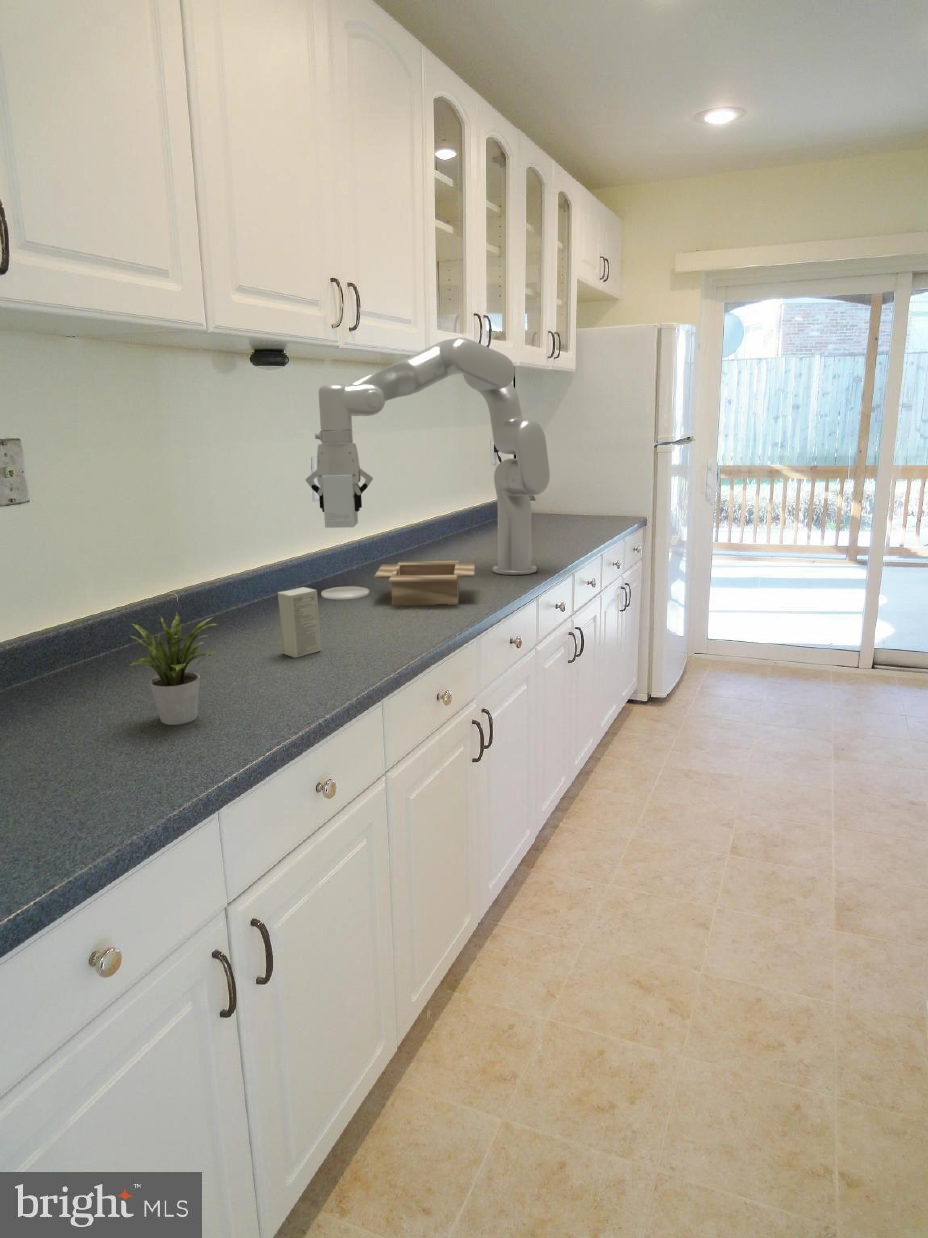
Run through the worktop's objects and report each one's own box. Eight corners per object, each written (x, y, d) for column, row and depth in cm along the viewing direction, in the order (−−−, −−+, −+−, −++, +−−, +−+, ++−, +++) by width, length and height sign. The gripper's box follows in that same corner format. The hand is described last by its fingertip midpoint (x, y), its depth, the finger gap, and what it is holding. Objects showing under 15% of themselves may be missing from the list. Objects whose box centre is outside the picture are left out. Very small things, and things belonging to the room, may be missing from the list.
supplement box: (354, 527, 197) (351, 475, 194) (324, 528, 198) (321, 475, 194) (359, 523, 204) (356, 472, 201) (329, 524, 205) (326, 473, 202)
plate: (326, 589, 211) (326, 586, 211) (372, 589, 211) (371, 586, 211) (317, 599, 200) (317, 596, 199) (365, 599, 199) (365, 596, 199)
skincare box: (308, 647, 159) (304, 586, 156) (322, 651, 155) (318, 589, 152) (281, 654, 154) (276, 591, 151) (294, 658, 151) (289, 594, 148)
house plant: (246, 724, 119) (236, 616, 115) (147, 746, 112) (133, 631, 108) (217, 697, 131) (207, 599, 127) (126, 715, 123) (113, 611, 119)
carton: (384, 588, 212) (383, 561, 210) (475, 587, 211) (474, 560, 209) (373, 609, 189) (371, 579, 187) (474, 608, 188) (474, 578, 187)
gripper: (297, 439, 192) (302, 513, 197) (370, 437, 192) (374, 512, 196) (304, 438, 200) (309, 510, 204) (374, 436, 199) (378, 508, 204)
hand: (341, 510), depth 200 cm, fingers closed on supplement box, 7 cm apart
